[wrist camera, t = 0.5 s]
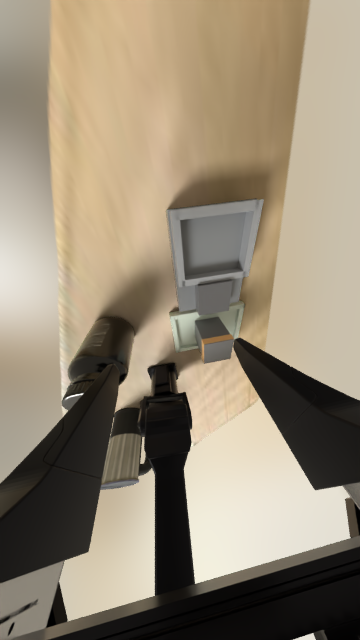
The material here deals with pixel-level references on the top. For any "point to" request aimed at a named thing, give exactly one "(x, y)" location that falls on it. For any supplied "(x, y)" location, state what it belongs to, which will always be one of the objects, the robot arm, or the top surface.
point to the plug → (213, 340)
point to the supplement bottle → (99, 356)
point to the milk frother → (124, 452)
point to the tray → (186, 319)
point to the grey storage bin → (212, 252)
